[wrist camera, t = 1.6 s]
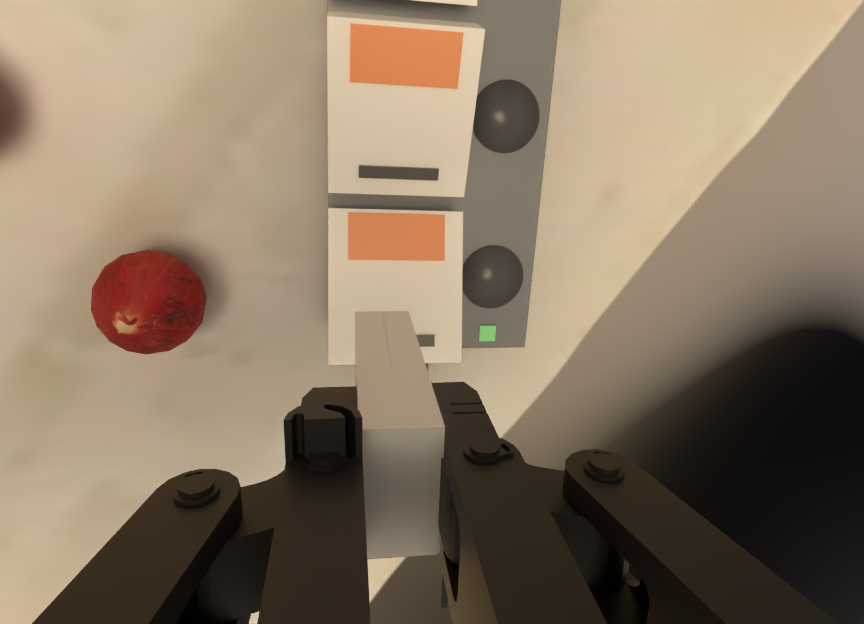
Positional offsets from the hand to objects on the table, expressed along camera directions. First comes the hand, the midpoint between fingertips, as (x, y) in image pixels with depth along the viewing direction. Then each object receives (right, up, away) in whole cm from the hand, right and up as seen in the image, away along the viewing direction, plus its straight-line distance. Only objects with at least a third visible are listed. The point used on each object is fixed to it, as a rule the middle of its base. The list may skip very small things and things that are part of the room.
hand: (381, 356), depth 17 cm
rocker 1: (0, +11, +12) cm, 16 cm away
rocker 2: (-1, +3, +16) cm, 16 cm away
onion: (-15, +3, +20) cm, 26 cm away
